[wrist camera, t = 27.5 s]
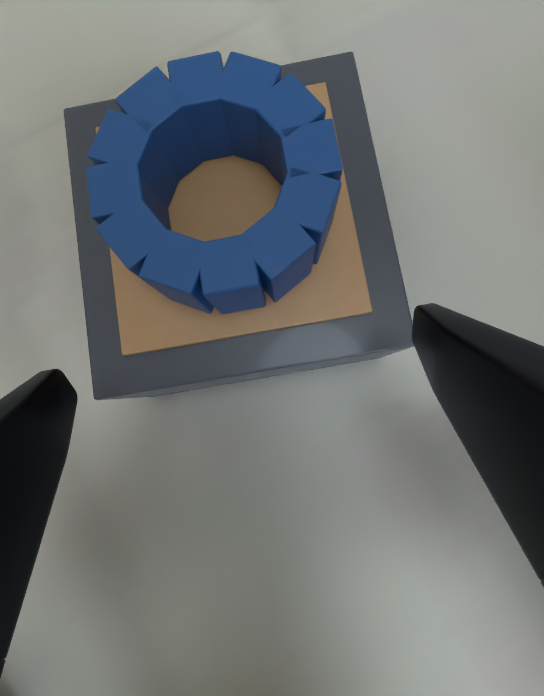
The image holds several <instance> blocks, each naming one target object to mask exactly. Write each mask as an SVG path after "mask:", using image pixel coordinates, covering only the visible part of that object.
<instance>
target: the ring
mask: <svg viewBox="0 0 544 696" xmlns="http://www.w3.org/2000/svg"><path fill="white" fill-rule="evenodd" d="M167 66H168V72H169V79H170V80H169V79H168V78H167V77H166V76H165V75H164V74H163V72H162V71H161V70H160V69H159V68H158V67H155V68H153V69H152V70H151V71H150V72H148V73H147V74H146V75H145V76H143V77H142V78H141V79H140V80H138V81H137V82H136V83H135V84H133V85H132V86H131V87H129V88H128V89H127V90H126V91H124V92H123V93H122V94H121V95H119V96H118V97H117V98H116V99H115V101H116V103H117V104H118V106H119V108H120V109H121V111H122V112H123V113H121V112H118V111H115V110H112V109H108V110H107V112H106V114H105V116H104V118H103V121H102V123H101V125H100V127H99V130H98V132H97V134H96V137H95V139H94V141H93V143H92V146H91V148H90V150H89V153H88V158H89V159H90V160H91V161H92V162H93V163H94V164H95V165H93V166H88V167H86V176H87V185H88V194H89V202H90V211H91V217H92V219H93V220H94V221H96V222H97V223H98V224H99V226H97V227H96V230H97V232H98V233H99V234H100V235H101V237H102V238H103V239H104V240H105V242H106V243H107V244H108V245H109V246H110V248H111V249H112V250H113V251H114V253H115V254H116V255H117V256H118V258H119V259H120V260H121V261H122V263H123V264H124V265H125V266H126V268H127V269H128V270H130V271H131V272H132V273H134V274H135V275H136V276H138V277H139V278H141V279H142V280H143V281H145V282H146V283H147V284H149V285H150V286H152V287H153V288H154V289H156V290H157V291H158V292H160V293H162V294H163V295H165V296H166V297H167V298H169V299H170V300H173V301H176V302H178V303H181V304H184V305H187V306H190V307H192V308H195V309H198V310H201V311H204V312H206V313H209V314H210V313H212V311H213V308H214V307H215V308H216V309H217V310H218V311H219V312H220V313H221V314H227V313H233V312H238V311H244V310H249V309H255V308H260V307H264V306H266V299H265V293H264V290H265V291H266V293H267V294H268V295H269V296H270V297H271V298H272V299H273V301H274V302H277V301H278V300H279V299H280V298H282V297H283V296H284V295H285V294H286V293H288V292H289V291H290V290H291V289H292V288H294V287H295V286H296V285H297V284H299V283H300V282H301V281H302V280H303V279H305V278H306V277H307V276H308V275H309V274H310V273H311V269H312V264H317V263H318V261H319V258H320V255H321V252H322V250H323V247H324V244H325V241H326V239H327V236H328V233H329V230H330V228H331V225H332V221H333V217H334V213H335V209H336V205H337V201H338V197H339V193H340V189H341V185H342V183H341V181H340V179H341V175H342V171H343V166H342V162H341V157H340V152H339V147H338V143H337V138H336V133H335V128H334V124H333V120H332V119H331V118H330V119H325V115H326V108H325V107H324V105H323V104H322V103H321V102H320V101H319V100H318V99H317V98H316V97H315V96H314V95H313V94H312V93H311V92H310V91H309V90H308V89H307V88H306V87H305V86H304V85H303V84H302V83H301V82H300V81H299V80H298V79H297V78H296V77H295V76H294V74H293V73H289V74H287V75H286V76H285V77H284V78H282V79H281V66H280V65H278V64H274V63H271V62H267V61H264V60H260V59H257V58H253V57H250V56H246V55H243V54H239V53H236V52H230V54H229V57H228V59H227V62H226V64H225V67H224V68H223V63H222V58H221V54H220V52H219V51H216V52H211V53H207V54H202V55H197V56H192V57H187V58H182V59H178V60H173V61H169V62H168V64H167ZM232 155H234V156H237V157H241V158H244V159H247V160H250V161H253V162H257V163H260V164H263V165H264V166H265V167H266V168H267V169H268V171H269V172H270V173H271V174H272V175H273V176H274V177H275V178H276V179H277V180H278V182H279V183H280V184H281V185H282V188H281V190H280V193H279V195H278V198H277V201H276V203H275V206H274V208H273V209H272V210H271V211H270V212H268V213H267V214H266V215H265V216H264V217H262V218H261V219H260V220H259V221H257V222H256V223H255V224H254V225H253V226H251V227H250V228H249V229H248V230H246V231H245V232H244V233H243V234H242V235H237V236H232V237H226V238H221V239H216V240H210V241H205V242H203V241H200V240H197V239H194V238H191V237H189V236H186V235H183V234H180V233H177V232H174V231H171V226H170V220H169V213H168V207H169V205H170V202H171V200H172V197H173V195H174V192H175V190H176V188H177V185H178V183H179V181H180V180H181V179H182V178H184V177H185V176H186V175H187V174H189V173H190V172H191V171H192V170H193V169H195V168H196V167H197V166H198V165H200V164H201V163H202V162H203V161H207V160H212V159H217V158H222V157H227V156H232Z"/></svg>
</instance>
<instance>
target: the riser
mask: <svg viewBox="0 0 544 696" xmlns="http://www.w3.org/2000/svg"><path fill="white" fill-rule="evenodd" d="M289 73H293V74H294V76H295V77H296V78H297V79H298V80H299V81H300V82H301V83H302V84H303V85H304V86H305V87H306V88H307V89H308V90H309V91H310V92H311V93H312V94H313V95H314V96H315V97H316V98H317V99H318V100H319V101H320V102H321V103H322V104H323V105H324V107H325V108H326V115H325V119H330V118H331V119H332V120H333V124H334V128H335V133H336V138H337V143H338V147H339V152H340V157H341V162H342V166H343V171H342V175H341V179H340V181H341V183H342V185H341V189H340V193H339V197H338V201H337V205H336V209H335V213H334V217H333V221H332V225H331V228H330V230H329V233H328V236H327V239H326V241H325V244H324V247H323V250H322V252H321V255H320V258H319V261H318V263H317V264H312V269H311V273H310V274H309V275H308V276H307V277H306V278H305V279H303V280H302V281H301V282H300V283H299V284H297V285H296V286H295V287H294V288H292V289H291V290H290V291H289V292H288V293H286V294H285V295H284V296H283V297H282V298H280V299H279V300H278V301H277V302H274V301H273V299H272V298H271V297H270V296H269V295H268V294H267V293H266V291H265V290H264V293H265V299H266V306H264V307H260V308H255V309H249V310H244V311H238V312H233V313H227V314H221V313H220V312H219V311H218V310H217V309H216V308H215V307H214V308H213V311H212V313H210V314H209V313H206V312H204V311H201V310H198V309H195V308H192V307H190V306H187V305H184V304H181V303H178V302H176V301H173V300H170V299H169V298H167V297H166V296H165V295H163V294H162V293H160V292H158V291H157V290H156V289H154V288H153V287H152V286H150V285H149V284H147V283H146V282H145V281H143V280H142V279H141V278H139V277H138V276H136V275H135V274H134V273H132V272H131V271H130V270H128V269H127V268H126V266H125V265H124V264H123V263H122V261H121V260H120V259H119V258H118V256H117V255H116V254H115V253H114V251H113V250H112V249H111V248H110V246H109V245H108V244H107V243H106V242H105V240H104V239H103V238H102V237H101V235H100V234H99V233H98V232H97V230H96V227H97V226H99V224H98V223H97V222H96V221H94V220H93V219H92V217H91V211H90V202H89V194H88V185H87V176H86V167H88V166H93V165H95V164H94V163H93V162H92V161H91V160H90V159H89V158H88V153H89V150H90V148H91V146H92V143H93V141H94V139H95V137H96V134H97V132H98V130H99V127H100V125H101V123H102V121H103V118H104V116H105V114H106V112H107V110H108V109H112V110H115V111H118V112H121V113H123V112H122V111H121V109H120V108H119V106H118V104H117V103H116V101H115V99H112V100H107V101H102V102H97V103H92V104H87V105H82V106H77V107H72V108H67V109H64V119H65V128H66V138H67V147H68V156H69V166H70V175H71V185H72V194H73V204H74V213H75V223H76V232H77V242H78V251H79V261H80V270H81V280H82V289H83V299H84V308H85V317H86V327H87V336H88V346H89V355H90V365H91V374H92V384H93V393H94V399H95V400H105V399H121V398H137V397H153V396H158V395H164V394H170V393H176V392H182V391H188V390H194V389H200V388H206V387H211V386H217V385H223V384H229V383H235V382H241V381H247V380H253V379H259V378H265V377H270V376H276V375H282V374H288V373H294V372H300V371H306V370H312V369H318V368H323V367H329V366H335V365H341V364H347V363H353V362H359V361H365V360H371V359H376V358H380V357H383V356H386V355H389V354H392V353H395V352H398V351H401V350H404V349H407V348H410V347H413V346H414V343H413V340H412V327H413V324H412V320H411V315H410V311H409V306H408V301H407V297H406V292H405V288H404V283H403V278H402V274H401V269H400V265H399V260H398V256H397V251H396V246H395V242H394V237H393V233H392V228H391V223H390V219H389V214H388V210H387V205H386V201H385V196H384V191H383V187H382V182H381V178H380V173H379V168H378V164H377V159H376V155H375V150H374V146H373V141H372V136H371V132H370V127H369V123H368V118H367V113H366V109H365V104H364V100H363V95H362V91H361V86H360V81H359V77H358V72H357V68H356V63H355V58H354V54H353V52H347V53H342V54H337V55H332V56H327V57H322V58H317V59H312V60H307V61H302V62H297V63H292V64H287V65H282V66H281V79H282V78H284V77H285V76H286V75H287V74H289ZM281 188H282V185H281V184H280V183H279V182H278V180H277V179H276V178H275V177H274V176H273V175H272V174H271V173H270V172H269V171H268V169H267V168H266V167H265V166H264V165H263V164H260V163H257V162H253V161H250V160H247V159H244V158H241V157H237V156H234V155H232V156H227V157H222V158H217V159H212V160H207V161H203V162H202V163H201V164H200V165H198V166H197V167H196V168H195V169H193V170H192V171H191V172H190V173H189V174H187V175H186V176H185V177H184V178H182V179H181V180H180V181H179V183H178V185H177V188H176V190H175V192H174V195H173V197H172V200H171V202H170V205H169V207H168V213H169V220H170V226H171V231H174V232H177V233H180V234H183V235H186V236H189V237H191V238H194V239H197V240H200V241H203V242H205V241H210V240H216V239H221V238H226V237H232V236H237V235H242V234H243V233H244V232H245V231H246V230H248V229H249V228H250V227H251V226H253V225H254V224H255V223H256V222H257V221H259V220H260V219H261V218H262V217H264V216H265V215H266V214H267V213H268V212H270V211H271V210H272V209H273V208H274V206H275V203H276V201H277V198H278V195H279V193H280V190H281Z"/></svg>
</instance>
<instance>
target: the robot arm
mask: <svg viewBox="0 0 544 696" xmlns="http://www.w3.org/2000/svg"><path fill="white" fill-rule="evenodd" d="M412 340H413V343H414V346H415V348H416V351H417V353H418V355H419V358H420V360H421V363H422V365H423V368H424V370H425V373H426V375H427V377H428V380H429V382H430V385H431V387H432V389H433V391H434V393H435V395H436V397H437V399H438V401H439V403H440V404H441V406H442V408H443V410H444V412H445V413H446V415H447V417H448V419H449V420H450V422H451V424H452V426H453V427H454V429H455V431H456V433H457V435H458V436H459V438H460V440H461V442H462V443H463V445H464V447H465V449H466V450H467V452H468V454H469V456H470V458H471V459H472V461H473V463H474V465H475V466H476V468H477V470H478V472H479V473H480V475H481V477H482V479H483V481H484V482H485V484H486V486H487V488H488V489H489V491H490V493H491V495H492V497H493V498H494V500H495V502H496V504H497V505H498V507H499V509H500V511H501V512H502V514H503V516H504V518H505V520H506V521H507V523H508V525H509V527H510V528H511V530H512V532H513V534H514V535H515V537H516V539H517V541H518V543H519V544H520V546H521V548H522V550H523V551H524V553H525V555H526V557H527V558H528V560H529V562H530V564H531V566H532V567H533V569H534V571H535V573H536V574H537V576H538V578H539V579H540V580H542V581H541V584H542V586H543V587H544V346H541V345H538V344H536V343H533V342H531V341H528V340H526V339H523V338H521V337H518V336H516V335H513V334H511V333H508V332H505V331H503V330H500V329H498V328H495V327H493V326H490V325H488V324H485V323H483V322H480V321H478V320H475V319H472V318H470V317H467V316H465V315H462V314H460V313H457V312H455V311H452V310H450V309H447V308H444V307H442V306H439V305H437V304H434V303H430V304H425V305H419V306H417V307H416V308H415V310H414V317H413V327H412ZM76 406H77V393H76V391H75V389H74V388H73V386H72V385H71V383H70V382H69V380H68V379H67V378H66V376H65V375H64V373H63V372H62V371H61V370H59V369H51V370H46V371H41V372H39V373H38V374H36V375H35V376H33V377H32V378H31V379H29V380H28V381H26V382H25V383H23V384H22V385H20V386H19V387H18V388H16V389H15V390H13V391H12V392H10V393H9V394H8V395H6V396H5V397H3V398H2V399H0V677H1V674H2V671H3V667H4V664H5V658H6V656H7V653H8V650H9V647H10V643H11V640H12V637H13V633H14V630H15V627H16V623H17V620H18V617H19V613H20V610H21V607H22V603H23V600H24V597H25V594H26V590H27V587H28V584H29V580H30V577H31V574H32V570H33V567H34V564H35V560H36V557H37V554H38V550H39V547H40V544H41V540H42V537H43V534H44V530H45V527H46V524H47V521H48V517H49V514H50V511H51V507H52V504H53V501H54V497H55V494H56V491H57V487H58V484H59V481H60V477H61V474H62V471H63V467H64V464H65V461H66V457H67V453H68V449H69V444H70V439H71V433H72V428H73V422H74V417H75V411H76Z"/></svg>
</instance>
